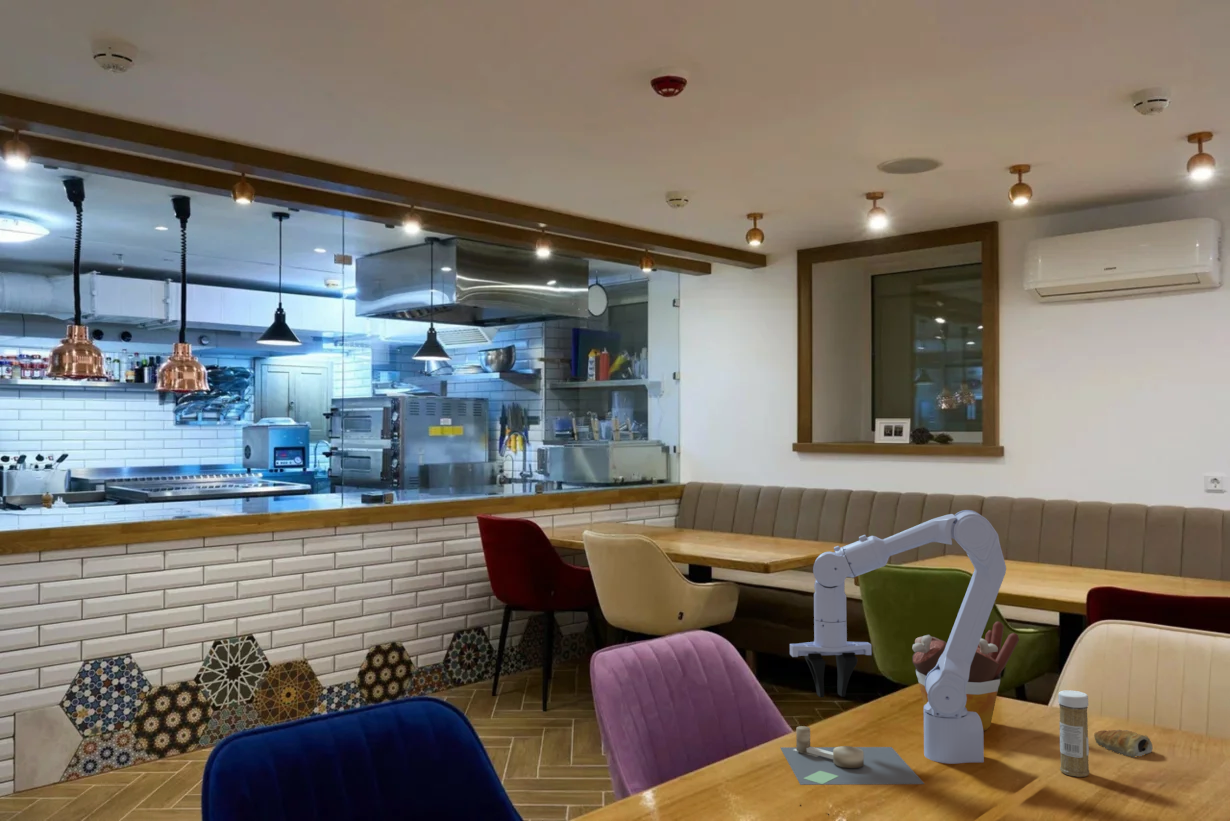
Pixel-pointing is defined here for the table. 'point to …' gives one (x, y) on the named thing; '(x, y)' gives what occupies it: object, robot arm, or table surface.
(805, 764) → the dial board
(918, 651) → the bucket of meat
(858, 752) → the crank handle
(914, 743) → the table surface
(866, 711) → the table surface
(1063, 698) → the spice jar
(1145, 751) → the pastry
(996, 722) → the table surface
